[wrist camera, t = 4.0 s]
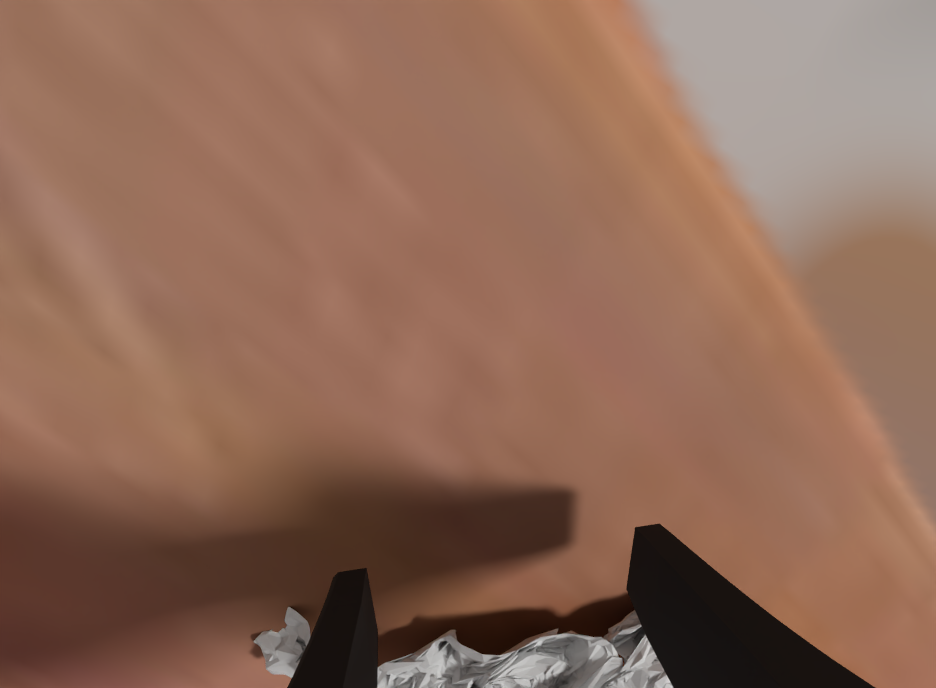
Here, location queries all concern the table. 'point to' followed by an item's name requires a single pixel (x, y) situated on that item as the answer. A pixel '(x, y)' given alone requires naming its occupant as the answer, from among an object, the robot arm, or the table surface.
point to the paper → (499, 660)
